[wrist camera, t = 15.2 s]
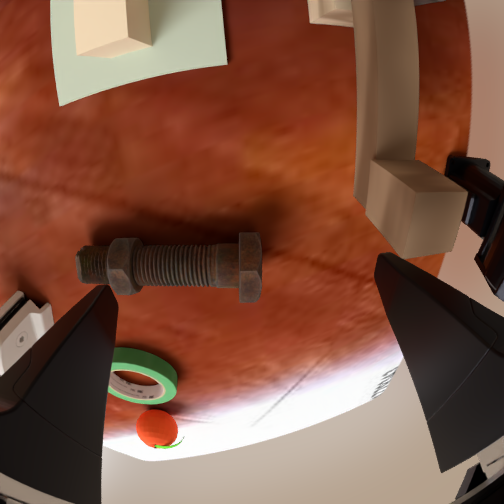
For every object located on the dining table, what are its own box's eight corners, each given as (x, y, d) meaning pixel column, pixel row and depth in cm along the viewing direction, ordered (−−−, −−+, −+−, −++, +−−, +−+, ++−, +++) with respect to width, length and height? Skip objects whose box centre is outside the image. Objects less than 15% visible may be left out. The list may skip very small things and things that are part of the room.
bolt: (95, 233, 24) (256, 232, 25) (98, 287, 24) (256, 290, 25) (62, 235, 18) (263, 232, 19) (67, 301, 18) (262, 307, 19)
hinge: (65, 373, 34) (31, 416, 25) (44, 356, 34) (10, 396, 25) (50, 302, 26) (-7, 356, 17) (26, 281, 26) (-30, 328, 17)
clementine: (183, 405, 39) (182, 445, 34) (186, 420, 43) (185, 455, 37) (134, 400, 38) (129, 439, 32) (142, 416, 42) (138, 450, 36)
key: (393, 4, 9) (471, -12, 4) (391, 193, 16) (452, 251, 11) (344, -7, 9) (412, -40, 4) (348, 196, 16) (402, 259, 11)
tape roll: (188, 361, 33) (187, 379, 31) (166, 396, 38) (165, 411, 36) (102, 334, 29) (96, 351, 27) (96, 374, 34) (92, 389, 32)
